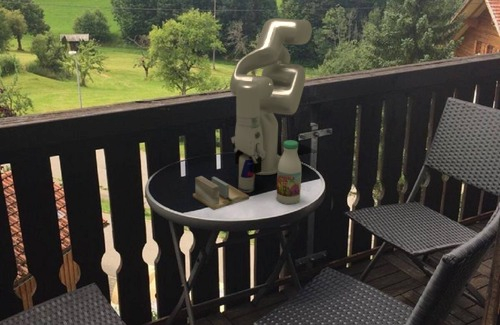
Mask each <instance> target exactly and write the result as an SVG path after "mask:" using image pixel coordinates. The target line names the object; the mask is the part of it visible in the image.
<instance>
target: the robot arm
mask: <svg viewBox="0 0 500 325" xmlns="http://www.w3.org/2000/svg"><path fill="white" fill-rule="evenodd" d="M312 31H313V28H312V25H311V22H310V21H309V20H308V19H294V18H270V19H268V20H267V21H265V22H264V24H263V27H262V29H261V31H260V35H259V38H258V41H257V44H256V46H255V49H254V50H252V51H250V52H249V53H247V54H246V55H244V56H243V57H242V58H240V60H239V61H238V62H236V65H235V67H234V69H233V72H232V74H231V78H230V81H229V90H230V94H232V95H233V96H235V97H236V101H235V102H236V105H235V106H236V107H235V109H236V111H235V112H236V113H235V114H236V123H235V131H234V136H232V137H230V139H231V143H232V147H233V151H234V163H235V164H236V165H239V158H240V155H243V154H248V155H250V156H252V158H253V160H254V163H253V174H255V175H260V176H270V175H275V174H277V172H278V164H279V161H280V159H281V157H282V155H279V154H278V136H279V135H278V134H279V123H278V120H277V118H276V116H275V114H279V115H293V114H295V113H296V112H297V110H298V108H299V105H300V102H301V99H302V98H301V97H302V96H303V95H302V94H303V90H304V89H305V88H304V87H305V83H306V70H305V69H304V67H303V66H302V65H300V64H297V63H290V61H291V54H290V52H289V51H288V49H287V48H286V46H284V44H285V45H296V46H297V45H298V46H300V45H301V46H302V45H306V44H308V42H309V41H310V40H311V38H312V34H313V32H312ZM258 69H262V71H261V75H255V74H249V73H251V72H253V71H255V70H258Z"/></svg>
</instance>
